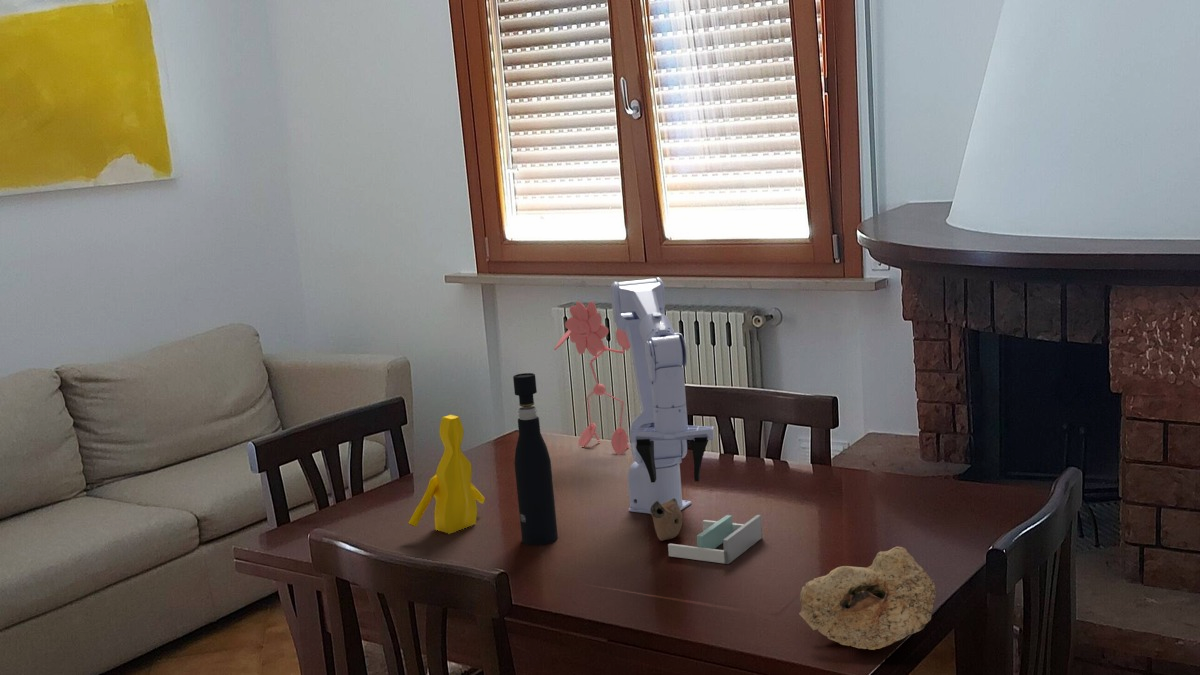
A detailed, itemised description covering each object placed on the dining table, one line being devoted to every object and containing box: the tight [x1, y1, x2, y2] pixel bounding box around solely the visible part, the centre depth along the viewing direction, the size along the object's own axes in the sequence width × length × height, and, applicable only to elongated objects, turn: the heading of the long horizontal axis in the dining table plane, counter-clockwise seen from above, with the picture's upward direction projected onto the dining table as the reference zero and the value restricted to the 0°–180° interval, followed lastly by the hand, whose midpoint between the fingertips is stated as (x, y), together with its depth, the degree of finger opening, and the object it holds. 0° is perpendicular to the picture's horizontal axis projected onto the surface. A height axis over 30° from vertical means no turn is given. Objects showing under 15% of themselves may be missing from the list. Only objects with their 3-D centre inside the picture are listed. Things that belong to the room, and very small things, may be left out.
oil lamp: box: [650, 498, 683, 541], centre depth 201 cm, size 9×4×8 cm, turn 150°
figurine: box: [553, 300, 631, 455], centre depth 257 cm, size 15×26×35 cm, turn 44°
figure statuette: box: [407, 414, 486, 535], centre depth 215 cm, size 18×8×22 cm, turn 135°
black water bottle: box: [512, 372, 559, 547], centre depth 205 cm, size 6×6×30 cm
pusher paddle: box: [696, 514, 734, 549], centre depth 196 cm, size 1×11×4 cm, turn 148°
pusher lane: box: [667, 514, 763, 565], centre depth 196 cm, size 11×13×4 cm
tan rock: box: [798, 546, 937, 651], centre depth 159 cm, size 18×14×8 cm
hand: (675, 480), depth 203 cm, fingers open, 7 cm apart
